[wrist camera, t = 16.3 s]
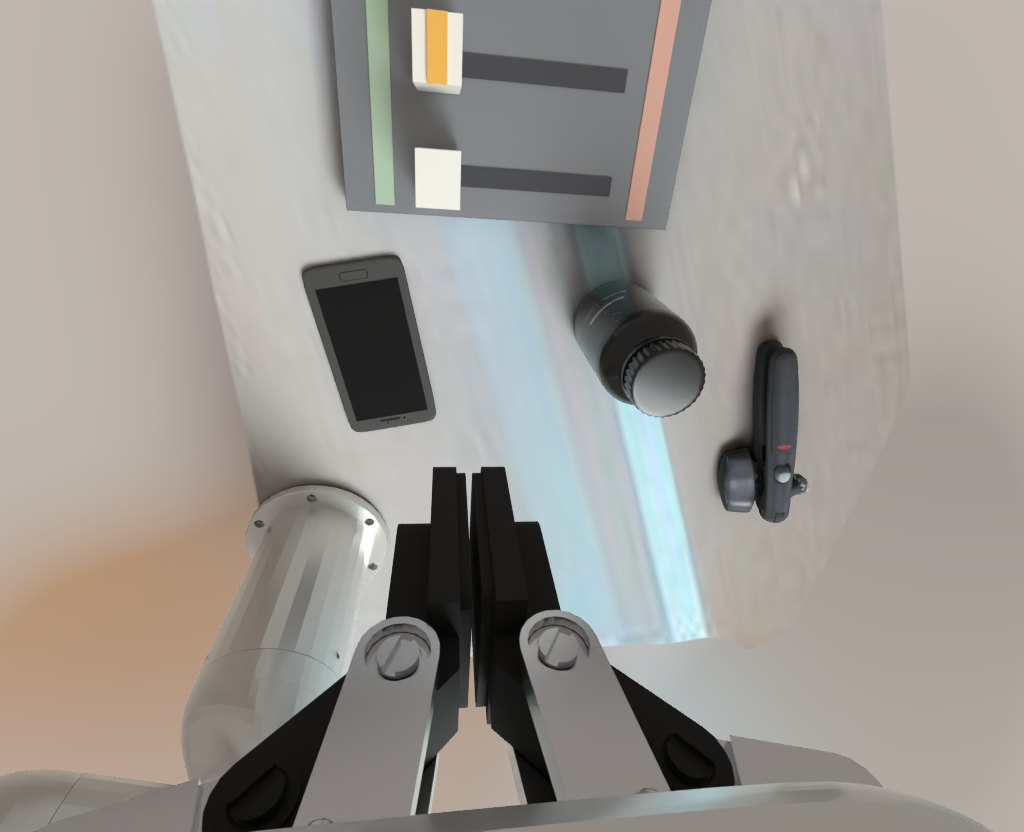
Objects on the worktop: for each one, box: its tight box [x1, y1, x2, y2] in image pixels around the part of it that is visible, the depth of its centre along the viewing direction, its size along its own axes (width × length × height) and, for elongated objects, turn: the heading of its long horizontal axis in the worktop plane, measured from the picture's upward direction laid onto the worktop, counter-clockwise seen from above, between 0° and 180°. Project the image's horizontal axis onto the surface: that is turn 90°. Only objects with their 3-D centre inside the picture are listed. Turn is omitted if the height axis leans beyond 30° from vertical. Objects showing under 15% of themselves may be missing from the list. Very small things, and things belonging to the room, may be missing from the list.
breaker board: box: [331, 0, 712, 230], centre depth 31 cm, size 17×22×2 cm
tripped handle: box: [411, 8, 463, 94], centre depth 27 cm, size 3×2×5 cm
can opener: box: [719, 340, 809, 523], centre depth 45 cm, size 18×7×6 cm, turn 5°
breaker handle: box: [415, 147, 461, 210], centre depth 30 cm, size 3×2×5 cm
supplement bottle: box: [574, 281, 706, 417], centre depth 36 cm, size 7×7×12 cm
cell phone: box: [303, 256, 436, 432], centre depth 40 cm, size 7×14×1 cm, turn 7°
